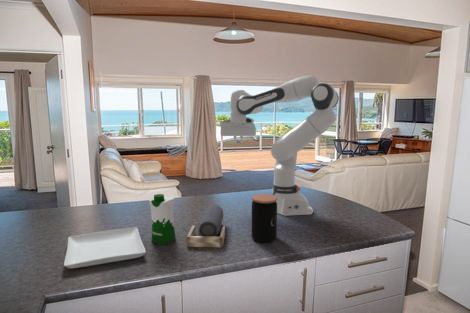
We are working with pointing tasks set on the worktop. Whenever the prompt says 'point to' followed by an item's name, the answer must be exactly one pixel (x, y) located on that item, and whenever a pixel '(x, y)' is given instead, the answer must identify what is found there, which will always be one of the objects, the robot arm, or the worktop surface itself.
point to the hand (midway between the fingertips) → (238, 143)
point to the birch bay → (205, 239)
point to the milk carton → (162, 219)
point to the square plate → (103, 247)
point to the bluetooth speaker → (211, 221)
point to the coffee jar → (264, 218)
